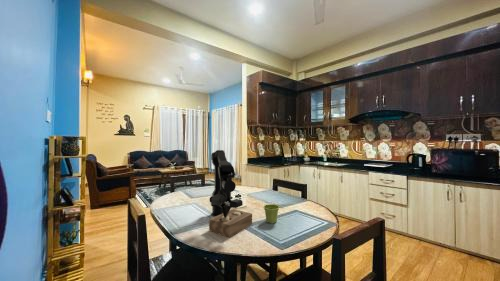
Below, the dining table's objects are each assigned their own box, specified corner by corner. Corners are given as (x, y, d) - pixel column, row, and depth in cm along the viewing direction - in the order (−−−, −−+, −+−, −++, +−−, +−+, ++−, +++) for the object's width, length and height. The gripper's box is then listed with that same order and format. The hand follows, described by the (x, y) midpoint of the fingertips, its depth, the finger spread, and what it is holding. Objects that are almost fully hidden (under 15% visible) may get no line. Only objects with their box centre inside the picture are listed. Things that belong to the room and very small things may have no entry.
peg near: (220, 227, 107) (220, 217, 107) (225, 224, 110) (225, 215, 110) (225, 228, 105) (225, 219, 105) (230, 226, 108) (230, 216, 108)
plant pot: (266, 225, 115) (266, 209, 115) (261, 219, 124) (261, 204, 124) (281, 223, 117) (282, 208, 117) (275, 217, 126) (275, 203, 126)
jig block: (209, 230, 108) (209, 219, 108) (233, 218, 124) (233, 208, 124) (229, 237, 100) (229, 225, 100) (252, 224, 116) (252, 213, 116)
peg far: (232, 222, 115) (232, 213, 115) (236, 220, 119) (236, 211, 119) (237, 223, 113) (237, 214, 113) (242, 221, 116) (242, 212, 116)
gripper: (201, 188, 106) (201, 218, 106) (229, 193, 96) (229, 226, 96) (216, 184, 116) (216, 212, 116) (243, 189, 105) (243, 219, 105)
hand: (225, 217), depth 108 cm, fingers closed, pressing on peg near
